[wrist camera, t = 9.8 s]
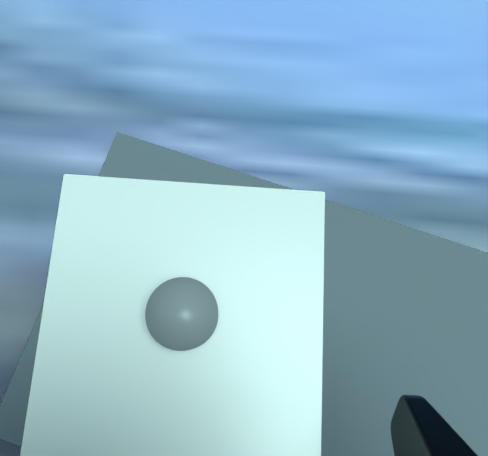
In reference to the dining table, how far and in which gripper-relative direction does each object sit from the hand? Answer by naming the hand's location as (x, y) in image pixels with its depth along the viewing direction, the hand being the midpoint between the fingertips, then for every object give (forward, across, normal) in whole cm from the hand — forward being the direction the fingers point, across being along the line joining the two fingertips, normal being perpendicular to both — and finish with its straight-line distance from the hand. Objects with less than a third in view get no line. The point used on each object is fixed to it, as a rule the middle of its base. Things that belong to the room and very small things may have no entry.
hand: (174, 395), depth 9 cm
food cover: (+9, 0, +7) cm, 11 cm away
